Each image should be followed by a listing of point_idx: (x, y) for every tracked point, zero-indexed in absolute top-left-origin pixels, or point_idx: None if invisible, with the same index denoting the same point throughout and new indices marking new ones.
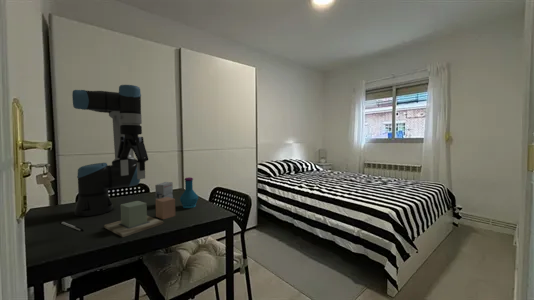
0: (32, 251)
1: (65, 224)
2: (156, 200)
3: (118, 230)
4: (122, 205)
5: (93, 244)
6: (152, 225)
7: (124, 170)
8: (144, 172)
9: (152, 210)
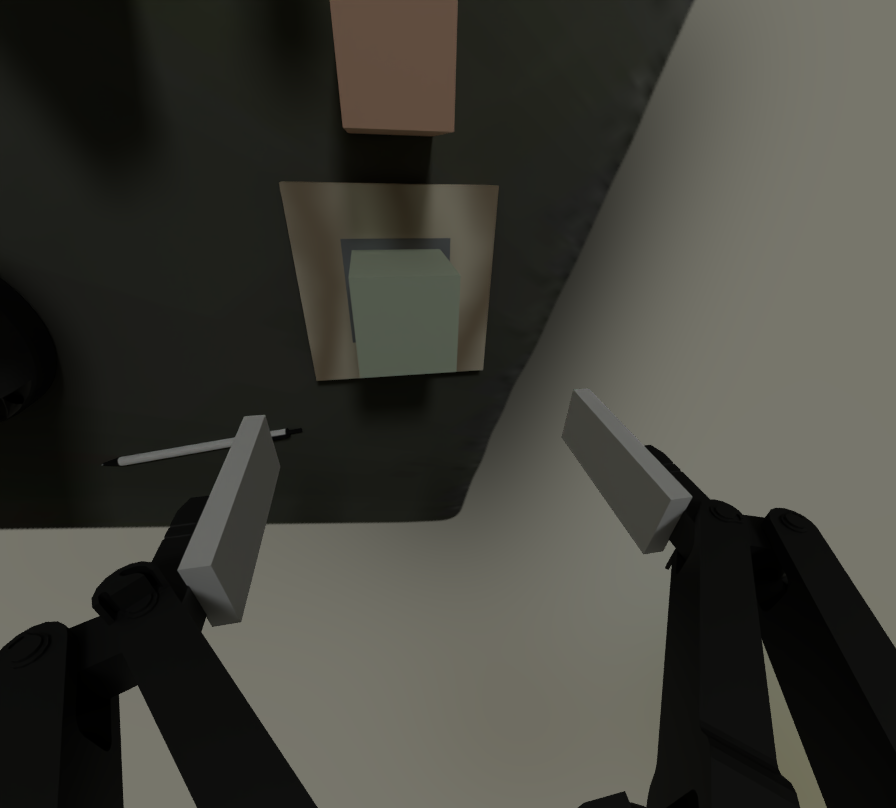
0: (373, 520)
1: (163, 458)
2: (359, 128)
3: None
4: (385, 376)
5: (456, 431)
6: (492, 251)
7: (263, 483)
8: (617, 424)
9: (164, 42)
